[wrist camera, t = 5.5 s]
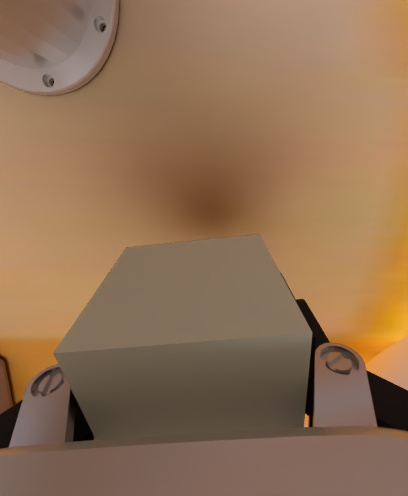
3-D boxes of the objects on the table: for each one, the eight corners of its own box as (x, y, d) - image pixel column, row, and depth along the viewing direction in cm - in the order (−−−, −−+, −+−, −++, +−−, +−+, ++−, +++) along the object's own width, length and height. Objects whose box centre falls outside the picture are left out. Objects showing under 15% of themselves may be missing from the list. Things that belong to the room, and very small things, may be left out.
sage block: (126, 247, 11) (53, 353, 6) (259, 234, 11) (312, 332, 6) (152, 345, 14) (117, 483, 8) (261, 336, 14) (299, 474, 8)
